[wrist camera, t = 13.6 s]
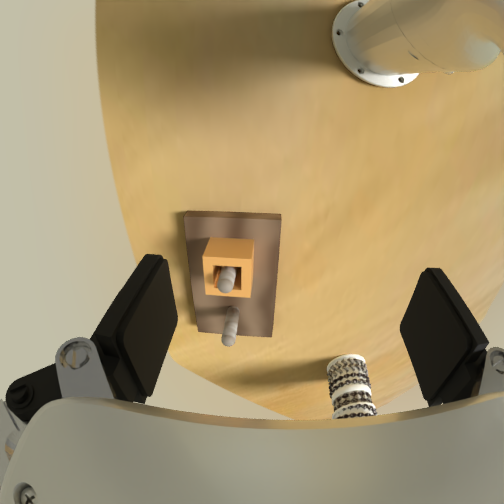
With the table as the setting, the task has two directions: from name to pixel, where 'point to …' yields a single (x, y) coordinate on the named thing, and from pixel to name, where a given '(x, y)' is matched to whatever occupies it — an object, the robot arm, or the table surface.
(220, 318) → the post board
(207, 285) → the collar
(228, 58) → the table surface
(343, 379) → the decorative candle
